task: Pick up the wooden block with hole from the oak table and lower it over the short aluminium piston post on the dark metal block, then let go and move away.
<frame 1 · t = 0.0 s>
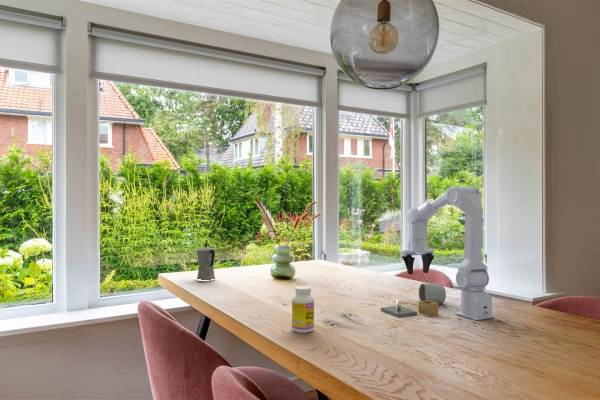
hand: (418, 273, 177), 10 cm above the table, tool pointing down, fingers open, 7 cm apart
supplement bottle: (303, 330, 135), on the table
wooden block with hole: (428, 314, 154), on the table
ceramic mug: (430, 303, 171), on the table
coffeepot: (207, 280, 219), on the table
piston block: (398, 312, 156), on the table
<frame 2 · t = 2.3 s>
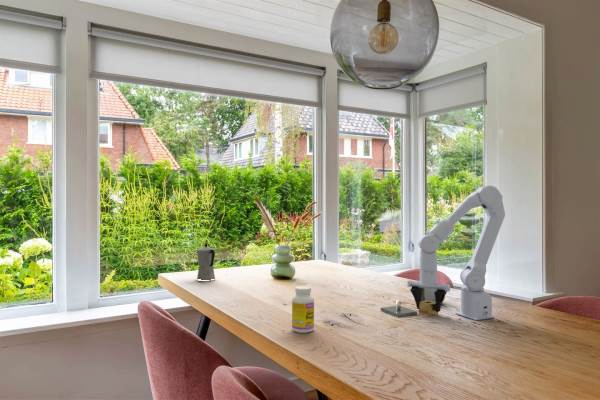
hand: (428, 309, 154), 1 cm above the table, tool pointing down, fingers closed on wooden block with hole, 6 cm apart
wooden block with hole: (428, 314, 154), on the table, touching gripper
when the fingers open (4 cm above the table, at t = 5.8 s): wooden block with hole drops 1 cm, resting on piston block.
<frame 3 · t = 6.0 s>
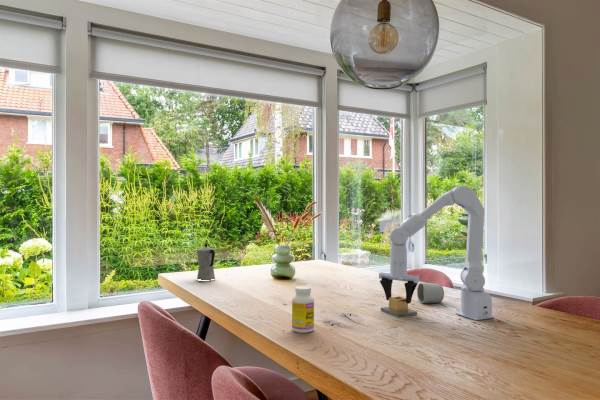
hand: (398, 301, 156), 4 cm above the table, tool pointing down, fingers open, 7 cm apart
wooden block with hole: (398, 309, 156), point 1 cm above the table, touching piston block
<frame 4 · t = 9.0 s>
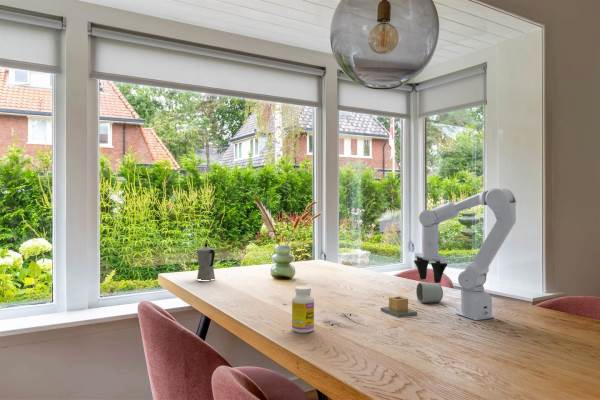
hand: (430, 280, 162), 10 cm above the table, tool pointing down, fingers open, 7 cm apart
at the end: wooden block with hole 0.1 cm off-centre on the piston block, point 1.0 cm above the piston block's base; the gripper is holding nothing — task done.
